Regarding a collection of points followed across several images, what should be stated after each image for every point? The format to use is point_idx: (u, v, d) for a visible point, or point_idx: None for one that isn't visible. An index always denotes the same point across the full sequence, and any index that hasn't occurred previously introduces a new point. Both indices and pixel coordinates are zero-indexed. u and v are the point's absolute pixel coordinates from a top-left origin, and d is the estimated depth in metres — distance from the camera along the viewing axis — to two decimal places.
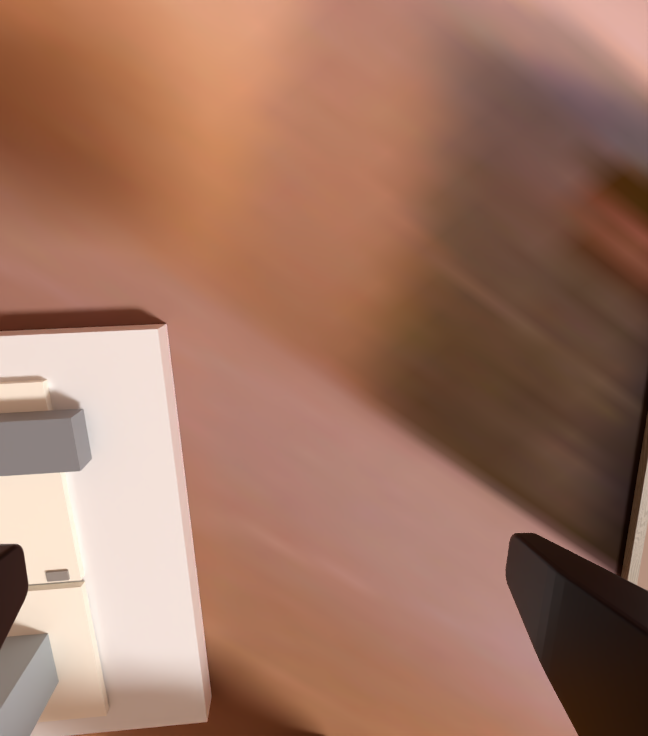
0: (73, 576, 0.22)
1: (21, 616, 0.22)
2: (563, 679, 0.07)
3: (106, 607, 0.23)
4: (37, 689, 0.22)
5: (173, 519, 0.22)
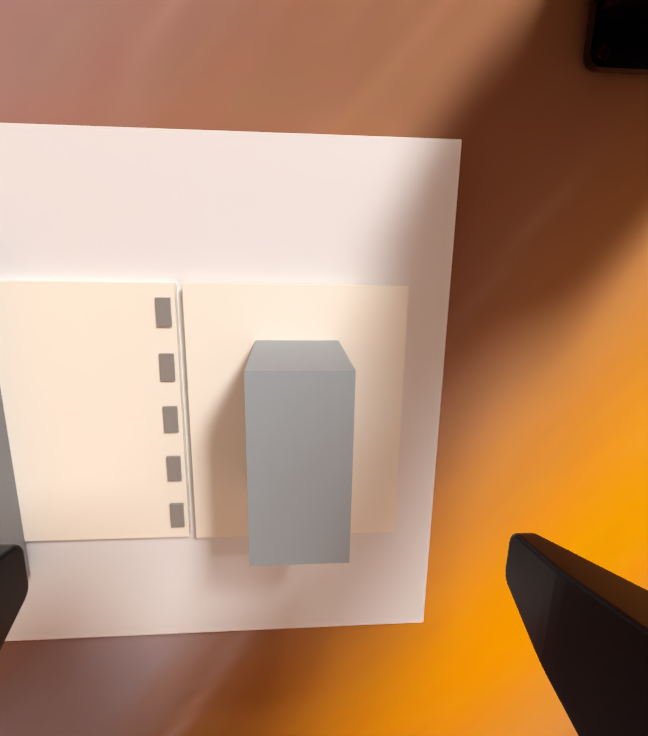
0: (166, 292, 0.16)
1: (225, 368, 0.17)
2: (563, 679, 0.07)
3: (232, 261, 0.16)
4: (304, 348, 0.15)
5: (84, 139, 0.15)
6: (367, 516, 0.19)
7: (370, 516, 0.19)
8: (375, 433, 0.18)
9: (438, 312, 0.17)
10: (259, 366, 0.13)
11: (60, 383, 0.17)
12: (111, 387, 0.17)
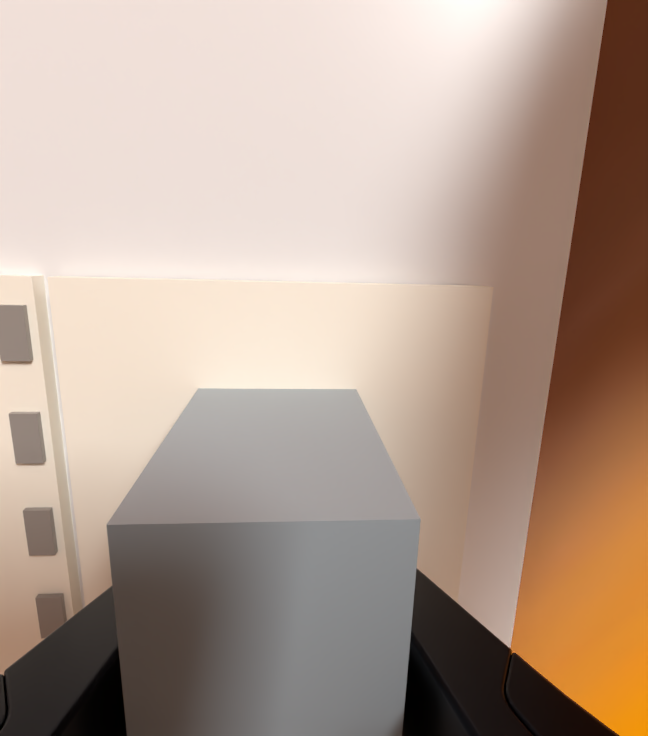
0: (18, 294, 0.08)
1: (139, 440, 0.09)
2: None
3: (152, 236, 0.08)
4: (288, 417, 0.07)
5: None
6: None
7: None
8: (418, 553, 0.10)
9: (539, 337, 0.09)
10: (163, 495, 0.05)
11: None
12: None
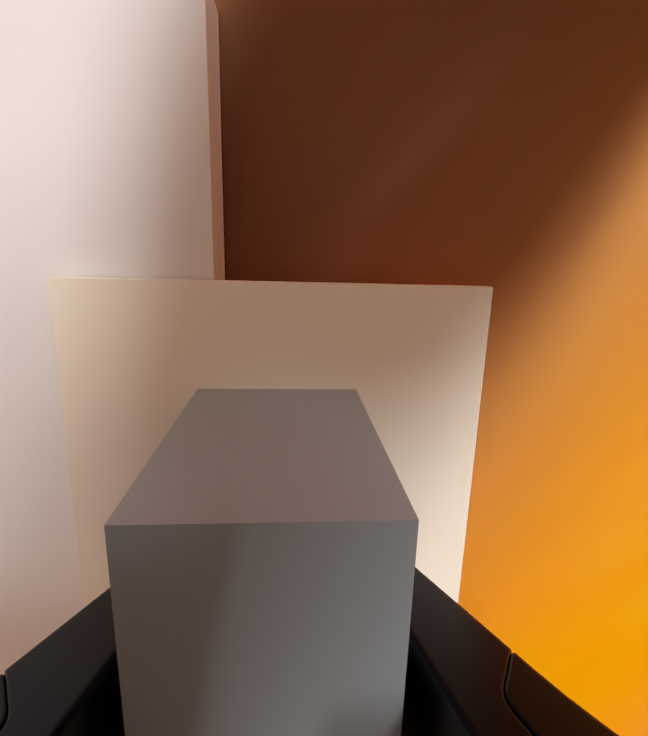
0: None
1: (139, 440, 0.09)
2: None
3: None
4: (287, 417, 0.07)
5: None
6: None
7: None
8: (418, 553, 0.10)
9: None
10: (161, 495, 0.05)
11: None
12: None
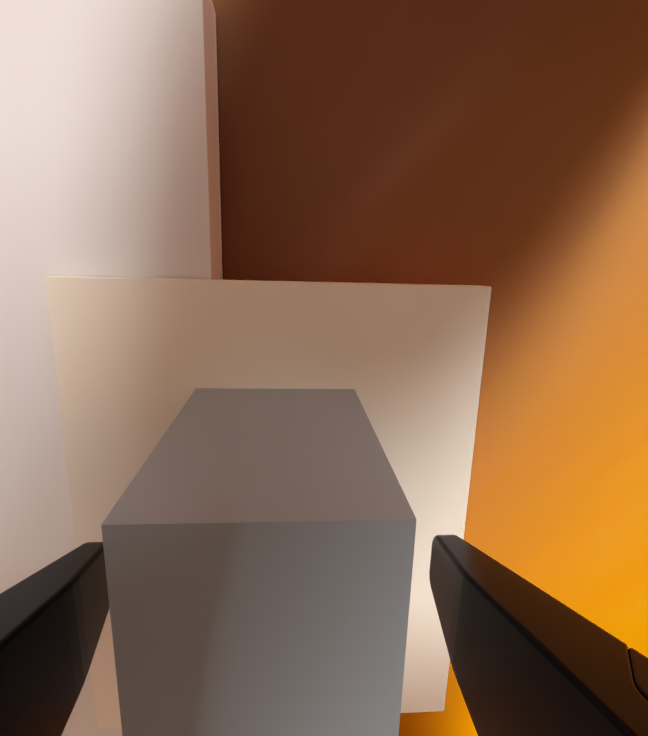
0: None
1: (137, 440, 0.09)
2: (468, 683, 0.07)
3: None
4: (286, 416, 0.07)
5: None
6: None
7: (403, 687, 0.11)
8: (417, 553, 0.10)
9: None
10: (158, 495, 0.05)
11: None
12: None
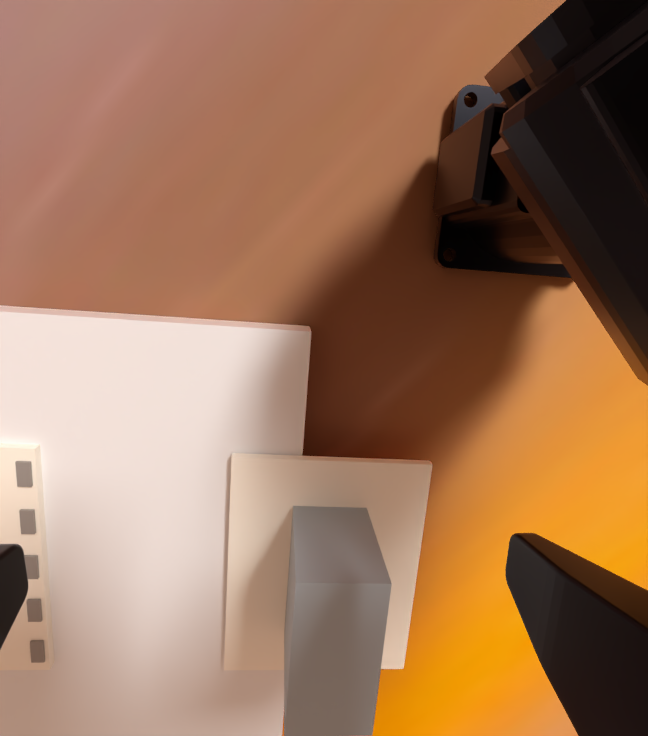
0: (27, 456, 0.17)
1: (263, 528, 0.19)
2: (563, 679, 0.07)
3: (94, 428, 0.18)
4: (339, 528, 0.17)
5: None
6: None
7: (382, 655, 0.21)
8: (392, 586, 0.20)
9: None
10: (307, 571, 0.15)
11: None
12: None
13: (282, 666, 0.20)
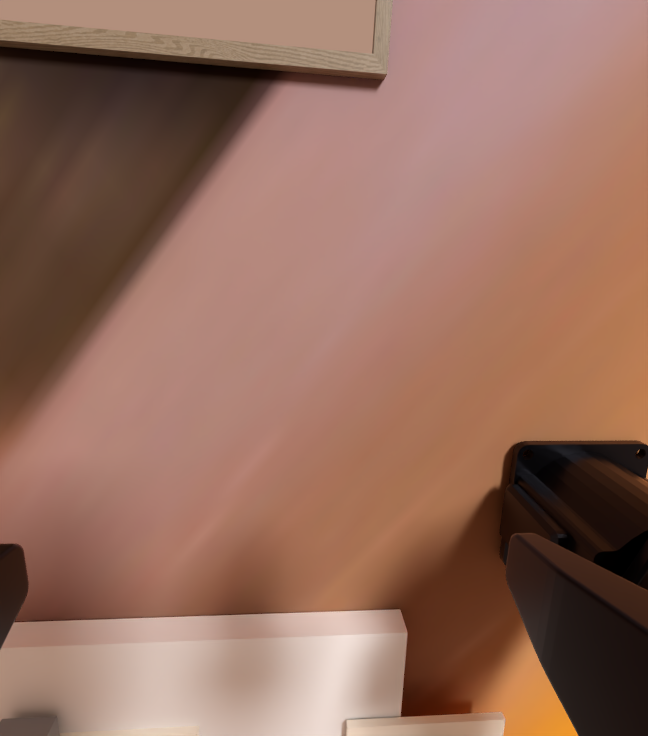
0: None
1: None
2: (563, 679, 0.07)
3: (240, 711, 0.22)
4: None
5: (135, 650, 0.21)
6: None
7: None
8: None
9: None
10: None
11: None
12: None
13: None
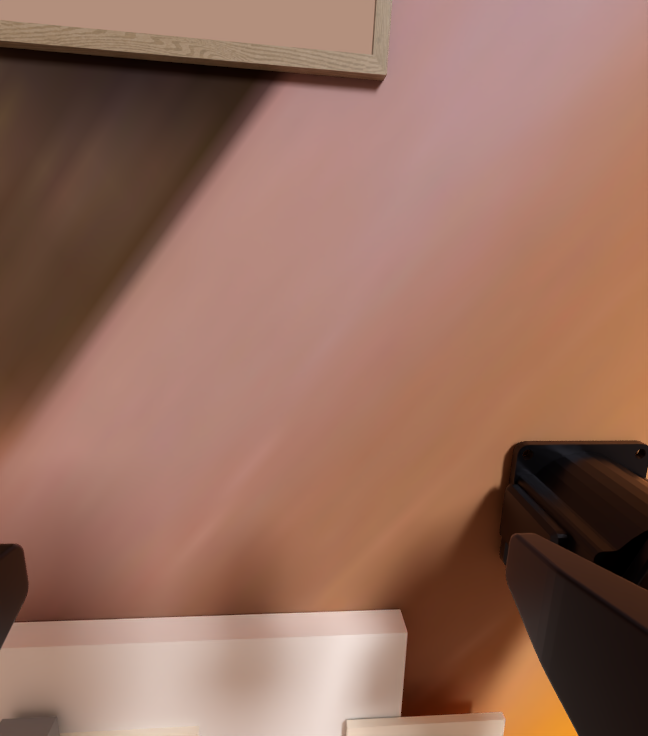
0: None
1: None
2: (563, 679, 0.07)
3: (240, 711, 0.22)
4: None
5: (135, 650, 0.21)
6: None
7: None
8: None
9: None
10: None
11: None
12: None
13: None
